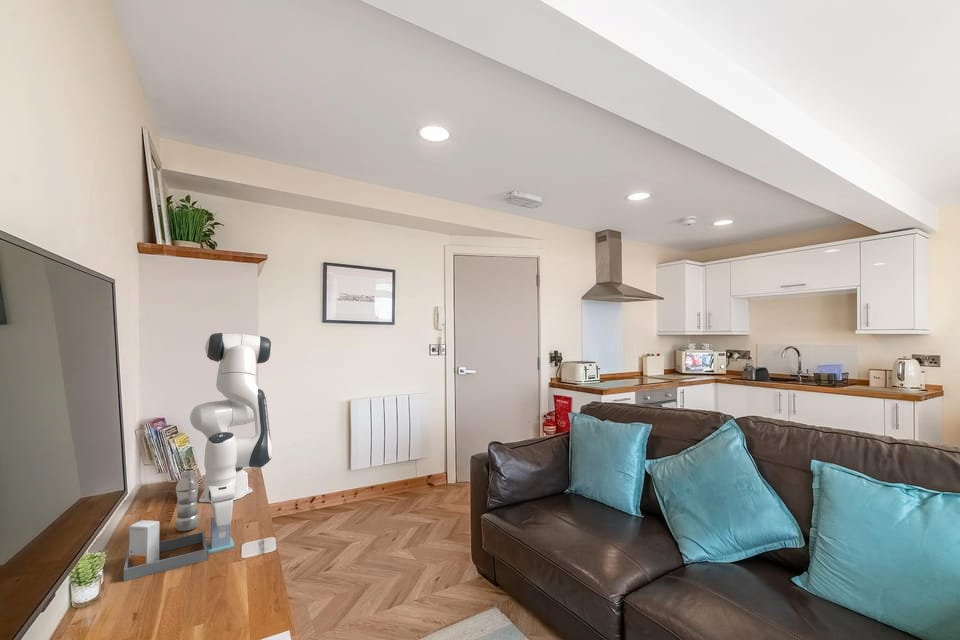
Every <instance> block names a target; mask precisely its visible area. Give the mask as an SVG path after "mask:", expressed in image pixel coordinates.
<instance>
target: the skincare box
mask: <svg viewBox="0 0 960 640" xmlns="http://www.w3.org/2000/svg"><path fill="white" fill-rule="evenodd" d="M128 536H129V541H128V542H129V545H128V546H129V548H128V549H129V568H131V567H135V566H139V565H143V564H147V563H151V562H155V561H159V560H160V552H159V542H160V521H158V520H152V519H151V520H149V519H147V520H145V519H144V520H143V519H141V520H139V521H137V522H135V523H133V524H131V525H130V526H129V535H128Z"/></svg>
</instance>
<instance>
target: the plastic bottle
mask: <svg viewBox="0 0 960 640" xmlns="http://www.w3.org/2000/svg"><path fill="white" fill-rule="evenodd" d="M194 475H195V468H185V469H181V472H180V479H179V480H178V482H177V484H176V486H175V494H176V497H177V515H176V519H175V529H176V530H177V531H178V532H187V531H191V530H194V529H196V528H197V526H198V525H199V524H200V523H199V522H200V516H199V513H198V492H199V485H200V484H199V481H198V479H197V478H196V476H194Z"/></svg>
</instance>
